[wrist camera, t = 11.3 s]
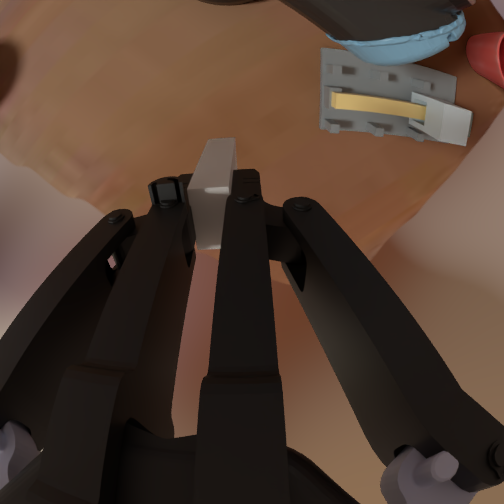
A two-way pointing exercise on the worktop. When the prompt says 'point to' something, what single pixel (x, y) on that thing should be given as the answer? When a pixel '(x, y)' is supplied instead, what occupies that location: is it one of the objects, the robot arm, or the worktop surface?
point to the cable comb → (377, 95)
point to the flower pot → (487, 56)
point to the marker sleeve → (442, 119)
